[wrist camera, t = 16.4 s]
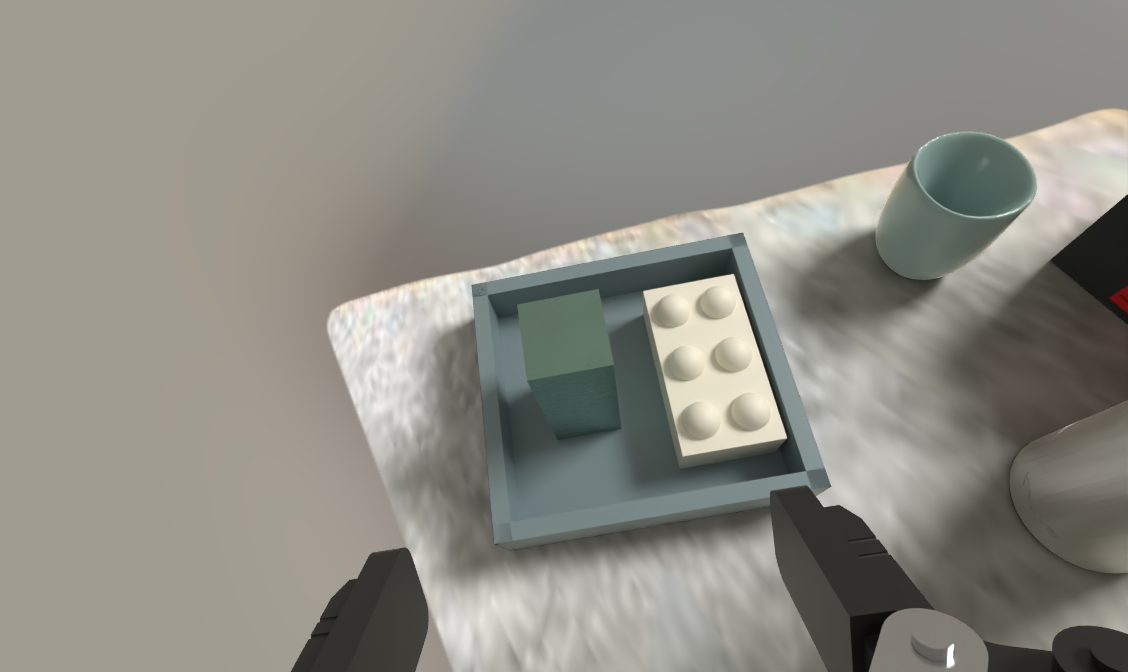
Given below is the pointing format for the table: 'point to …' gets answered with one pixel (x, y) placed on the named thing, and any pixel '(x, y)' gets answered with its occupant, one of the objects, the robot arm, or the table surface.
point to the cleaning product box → (1101, 259)
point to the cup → (952, 204)
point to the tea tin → (570, 363)
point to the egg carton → (711, 373)
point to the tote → (623, 409)
